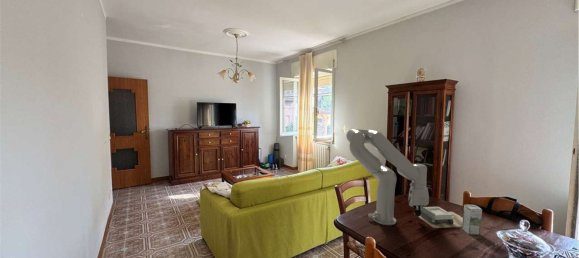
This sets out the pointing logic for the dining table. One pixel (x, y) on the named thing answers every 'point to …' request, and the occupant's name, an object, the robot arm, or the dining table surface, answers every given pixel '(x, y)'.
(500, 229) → the dining table surface
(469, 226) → the syrup box
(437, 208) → the pale grey flat box
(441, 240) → the dining table surface
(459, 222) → the cream tray
